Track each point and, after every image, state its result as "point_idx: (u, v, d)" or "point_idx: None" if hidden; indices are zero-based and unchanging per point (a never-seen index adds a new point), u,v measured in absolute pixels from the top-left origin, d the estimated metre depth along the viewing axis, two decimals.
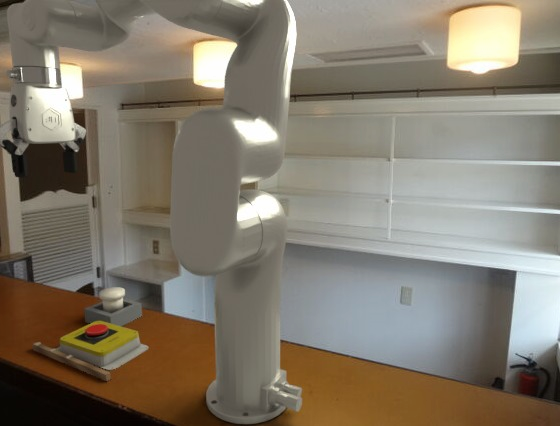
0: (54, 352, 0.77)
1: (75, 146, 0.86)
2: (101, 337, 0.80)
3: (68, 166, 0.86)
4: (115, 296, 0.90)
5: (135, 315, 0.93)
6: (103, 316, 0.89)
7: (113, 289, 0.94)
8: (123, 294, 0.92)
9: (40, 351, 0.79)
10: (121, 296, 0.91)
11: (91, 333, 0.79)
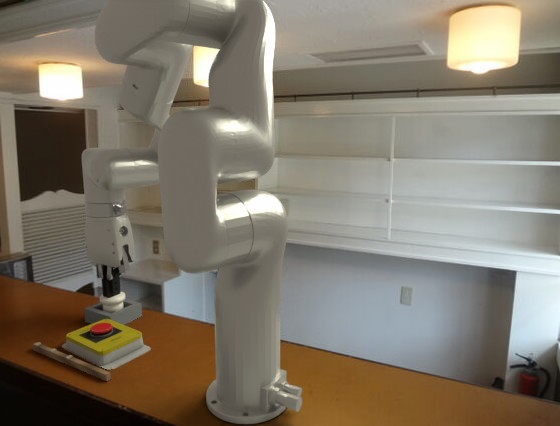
0: (54, 352, 0.77)
1: None
2: (105, 336, 0.80)
3: None
4: (115, 300, 0.91)
5: (135, 315, 0.93)
6: (103, 316, 0.89)
7: None
8: (123, 298, 0.92)
9: (40, 351, 0.79)
10: (121, 300, 0.92)
11: (95, 331, 0.80)
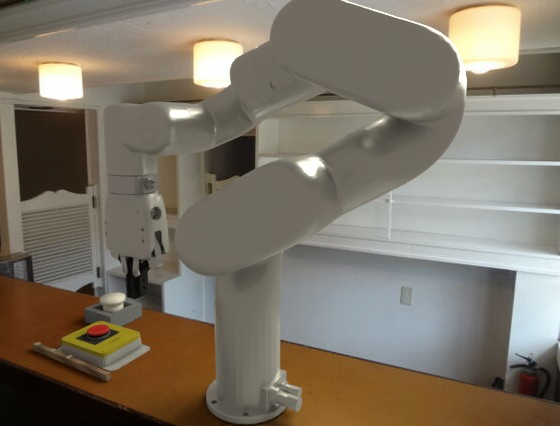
0: (54, 352, 0.77)
1: None
2: (102, 337, 0.80)
3: None
4: (115, 301, 0.91)
5: (135, 315, 0.93)
6: (103, 316, 0.89)
7: (113, 294, 0.94)
8: (123, 299, 0.92)
9: (40, 351, 0.79)
10: (121, 301, 0.92)
11: (93, 333, 0.79)
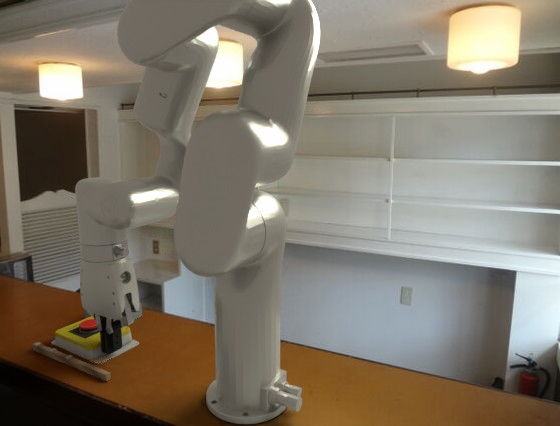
0: (54, 352, 0.77)
1: None
2: (93, 331, 0.82)
3: None
4: None
5: (135, 315, 0.93)
6: None
7: None
8: None
9: (40, 351, 0.79)
10: None
11: (84, 327, 0.82)
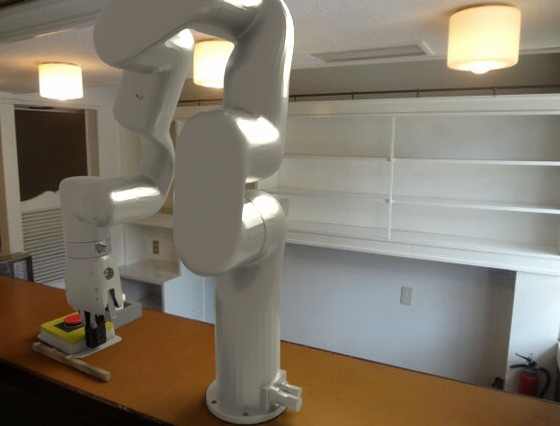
0: (54, 352, 0.77)
1: None
2: (77, 326, 0.84)
3: None
4: None
5: (135, 315, 0.93)
6: None
7: None
8: (123, 299, 0.92)
9: (40, 351, 0.79)
10: None
11: (68, 322, 0.84)
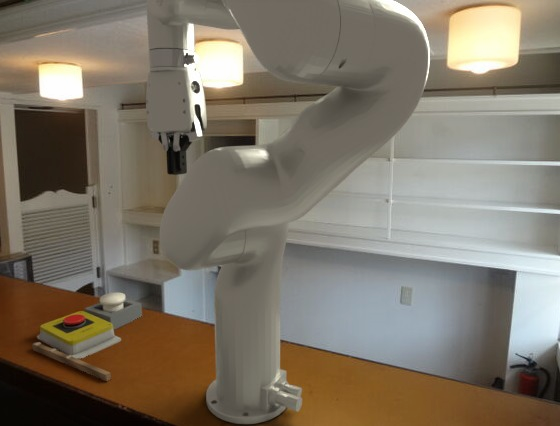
0: (54, 352, 0.77)
1: None
2: (76, 327, 0.84)
3: None
4: (115, 301, 0.91)
5: (135, 315, 0.93)
6: (103, 316, 0.89)
7: (113, 294, 0.94)
8: (123, 299, 0.92)
9: (40, 351, 0.79)
10: (121, 301, 0.92)
11: (67, 322, 0.83)
